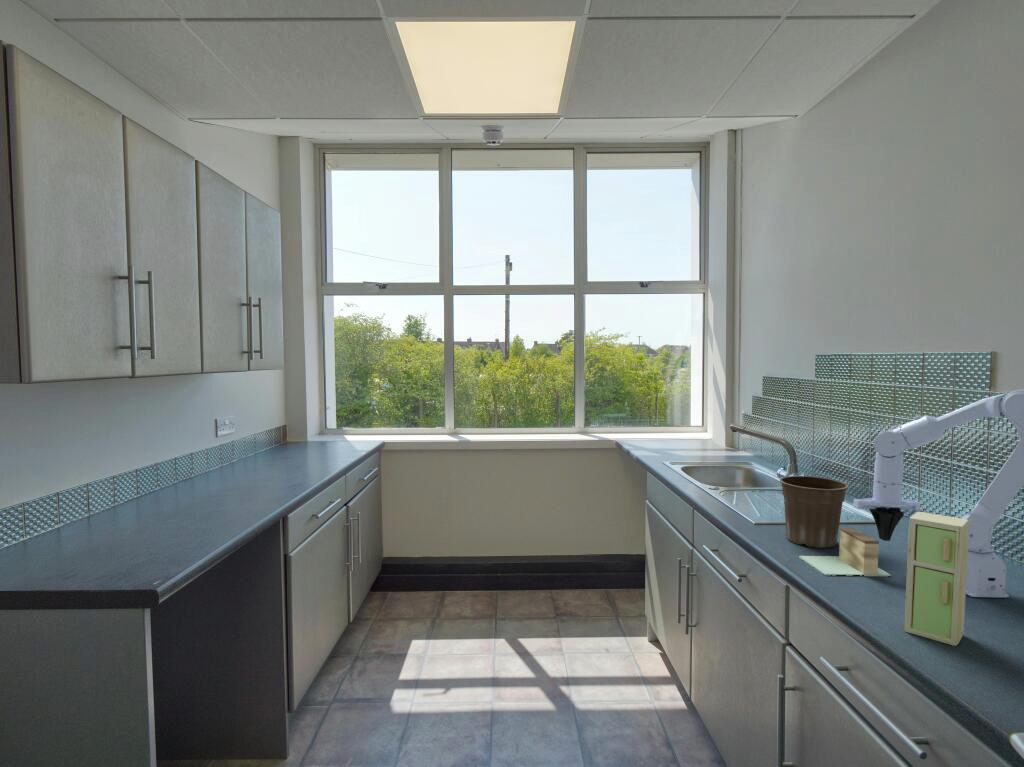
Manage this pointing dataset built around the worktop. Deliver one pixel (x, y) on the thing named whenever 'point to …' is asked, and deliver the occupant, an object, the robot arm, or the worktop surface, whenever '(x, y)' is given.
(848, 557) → the oak slab
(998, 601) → the worktop surface
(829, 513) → the plant pot
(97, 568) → the worktop surface
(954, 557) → the toy refrigerator
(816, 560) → the rubber mat
